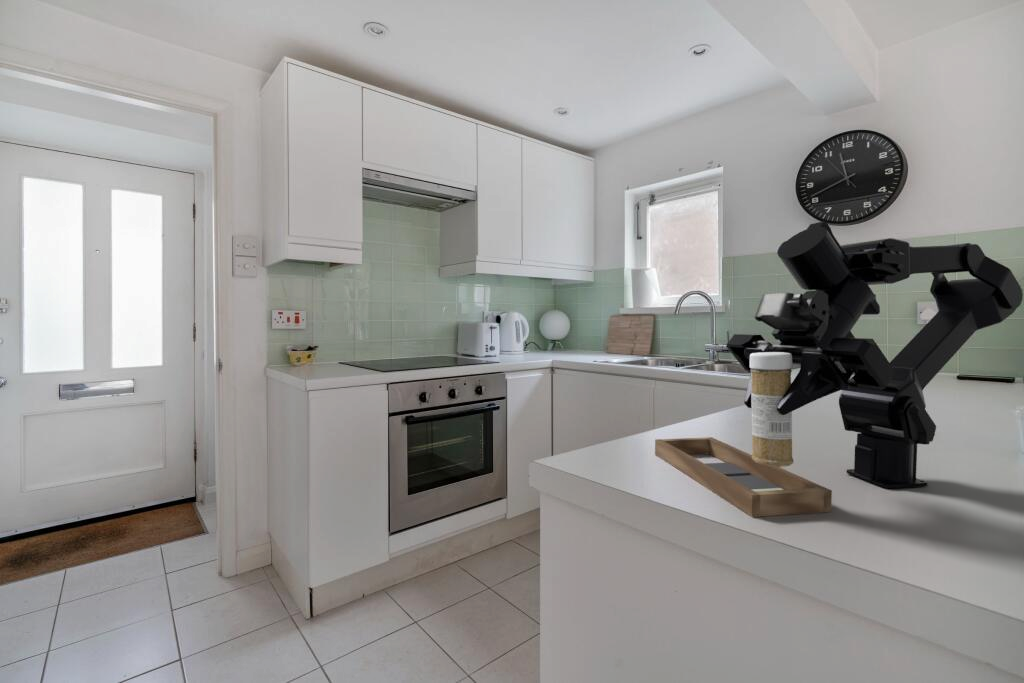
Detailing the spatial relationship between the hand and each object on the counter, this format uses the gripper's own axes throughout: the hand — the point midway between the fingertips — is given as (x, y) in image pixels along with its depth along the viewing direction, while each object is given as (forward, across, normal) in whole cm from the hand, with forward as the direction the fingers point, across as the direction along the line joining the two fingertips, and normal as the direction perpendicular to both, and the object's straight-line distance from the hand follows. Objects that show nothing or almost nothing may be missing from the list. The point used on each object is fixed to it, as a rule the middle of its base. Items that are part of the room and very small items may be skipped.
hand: (762, 409), depth 57 cm
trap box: (+6, -8, +10) cm, 14 cm away
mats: (+6, -8, +10) cm, 14 cm away
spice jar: (+4, 0, +6) cm, 7 cm away
